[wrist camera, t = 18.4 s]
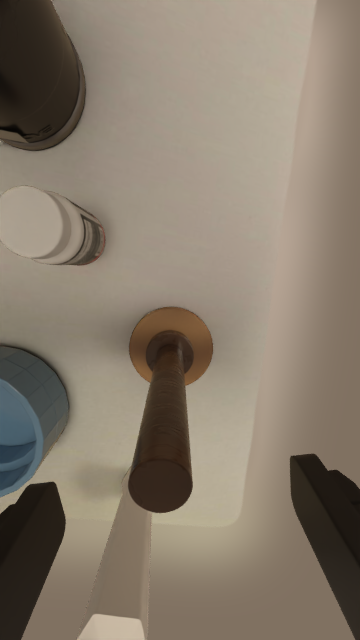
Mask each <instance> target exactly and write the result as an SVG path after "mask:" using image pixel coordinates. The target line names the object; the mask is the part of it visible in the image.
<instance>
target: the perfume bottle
mask: <svg viewBox="0 0 360 640" xmlns="http://www.w3.org/2000/svg"><path fill="white" fill-rule="evenodd" d="M130 471H131V467H130V469H129V471H128V472H127V474H126V476H125V477H124V479H123V481H122V497H121V500H120V503H119V507H118V510H117V513H116V516H115V519H114V522H113V526H112V529H111V532H110V535H109V538H108V541H107V544H106V548H105V551H104V554H103V557H102V560H101V563H100V567H99V570H98V573H97V576H96V579H95V582H94V585H93V589H92V592H91V595H90V598H89V601H88V605H87V607H86V611H85V614H84V617H83V621H82V623H81V626H80V630H79V633H78V636H77V639H76V640H147V639H148V608H149V607H148V606H149V578H150V547H151V517H152V512H150V511H147V510H145V509H143V508H141V507H140V506H138V505H137V504H136V503H135V502H134V501H133V499H132V498H131V496H130V493H129V490H128V480H129V475H130Z"/></svg>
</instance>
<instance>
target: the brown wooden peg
mask: <svg viewBox="0 0 360 640" xmlns="http://www.w3.org/2000/svg"><path fill="white" fill-rule="evenodd" d="M193 360H194V352H193V347H192V344H191V342H190V340H189V339H188V338H187V337H186V336H185V335H184V334H182V333H180V332H178V331H174V330H166V331H162V332H160V333H158V334H156V335H155V336H154V337H153V338H152V339H151V340H150V342H149V344H148V347H147V350H146V362H147V365H148V367H149V368H150V370H151V371H152V372H153V373H152V378H151V382H150V387H149V391H148V395H147V400H146V404H145V409H144V413H143V418H142V422H141V426H140V431H139V435H138V440H137V444H136V449H135V453H134V458H133V462H132V466H131V471H130V475H129V480H128V490H129V493H130V496H131V498H132V499H133V501H134V502H135V503H136V504H137V505H138V506H140V507H141V508H143V509H145V510H147V511H150V512H155V513H166V512H170V511H173V510H176V509H178V508H179V507H181V506H182V505H183V504H184V503H185V502H186V501H187V500H188V498H189V497H190V494H191V492H192V487H193V482H192V468H191V455H190V442H189V429H188V416H187V402H186V389H185V376H184V374H185V373H187V372H188V371H189V369H190V368H191V366H192V364H193Z"/></svg>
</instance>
